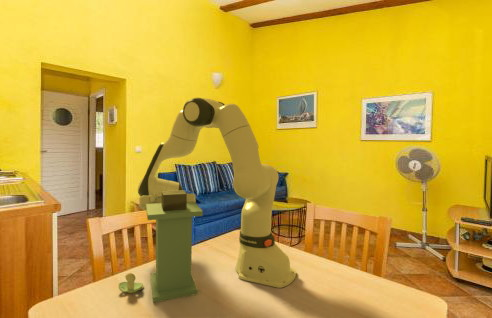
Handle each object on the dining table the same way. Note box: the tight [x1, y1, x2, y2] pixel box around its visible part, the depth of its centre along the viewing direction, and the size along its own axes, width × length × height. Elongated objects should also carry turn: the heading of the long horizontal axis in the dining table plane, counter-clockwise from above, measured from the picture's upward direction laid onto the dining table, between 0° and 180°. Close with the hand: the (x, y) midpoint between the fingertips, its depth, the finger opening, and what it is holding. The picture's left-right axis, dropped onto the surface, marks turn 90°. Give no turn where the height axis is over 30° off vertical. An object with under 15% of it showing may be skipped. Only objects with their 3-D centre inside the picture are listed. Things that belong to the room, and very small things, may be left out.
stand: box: [145, 201, 204, 303], centre depth 89 cm, size 15×16×26 cm
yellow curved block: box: [162, 189, 188, 211], centre depth 92 cm, size 18×7×5 cm, turn 22°
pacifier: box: [118, 272, 145, 294], centre depth 86 cm, size 7×6×6 cm
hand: (169, 195), depth 97 cm, fingers open, 8 cm apart
